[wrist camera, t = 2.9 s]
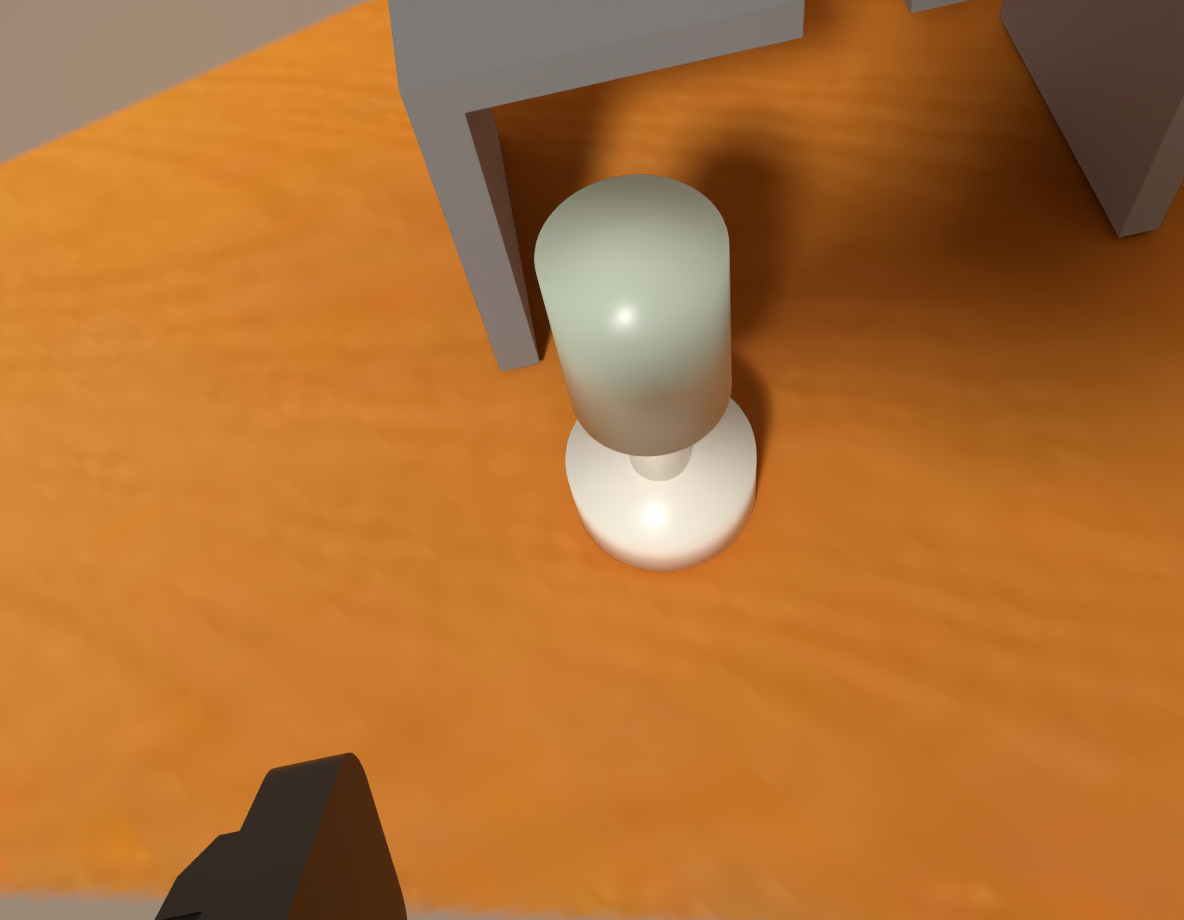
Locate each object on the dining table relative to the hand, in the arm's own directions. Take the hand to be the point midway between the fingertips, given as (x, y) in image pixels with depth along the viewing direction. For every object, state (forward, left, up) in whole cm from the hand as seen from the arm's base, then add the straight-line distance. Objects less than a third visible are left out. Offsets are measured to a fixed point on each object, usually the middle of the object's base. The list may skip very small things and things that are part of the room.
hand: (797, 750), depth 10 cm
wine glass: (0, +12, -17) cm, 20 cm away
